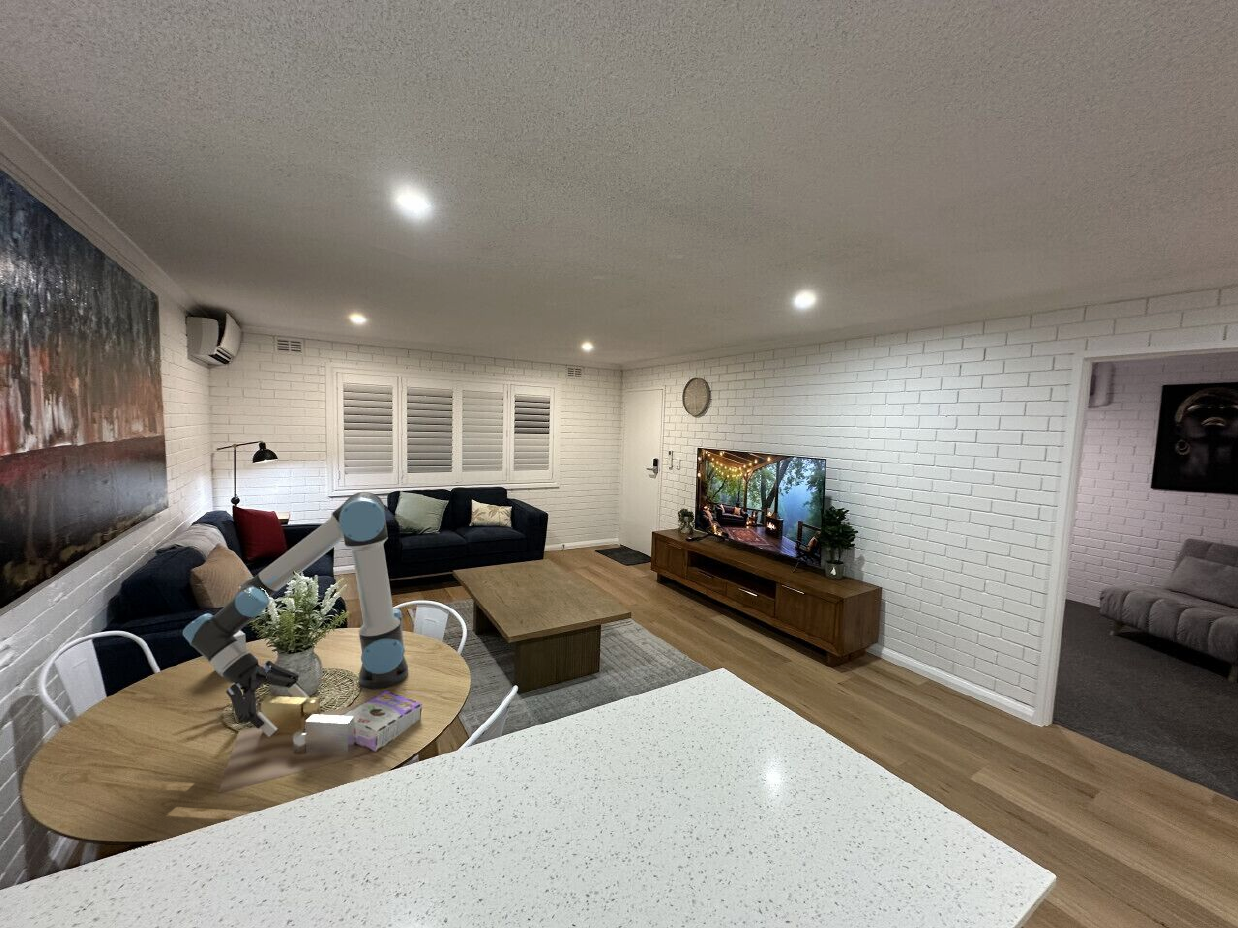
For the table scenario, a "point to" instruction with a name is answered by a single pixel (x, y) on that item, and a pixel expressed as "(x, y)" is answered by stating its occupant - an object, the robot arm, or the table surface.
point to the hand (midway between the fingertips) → (291, 717)
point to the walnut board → (274, 757)
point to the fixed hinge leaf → (325, 736)
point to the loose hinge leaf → (289, 712)
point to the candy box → (383, 719)
